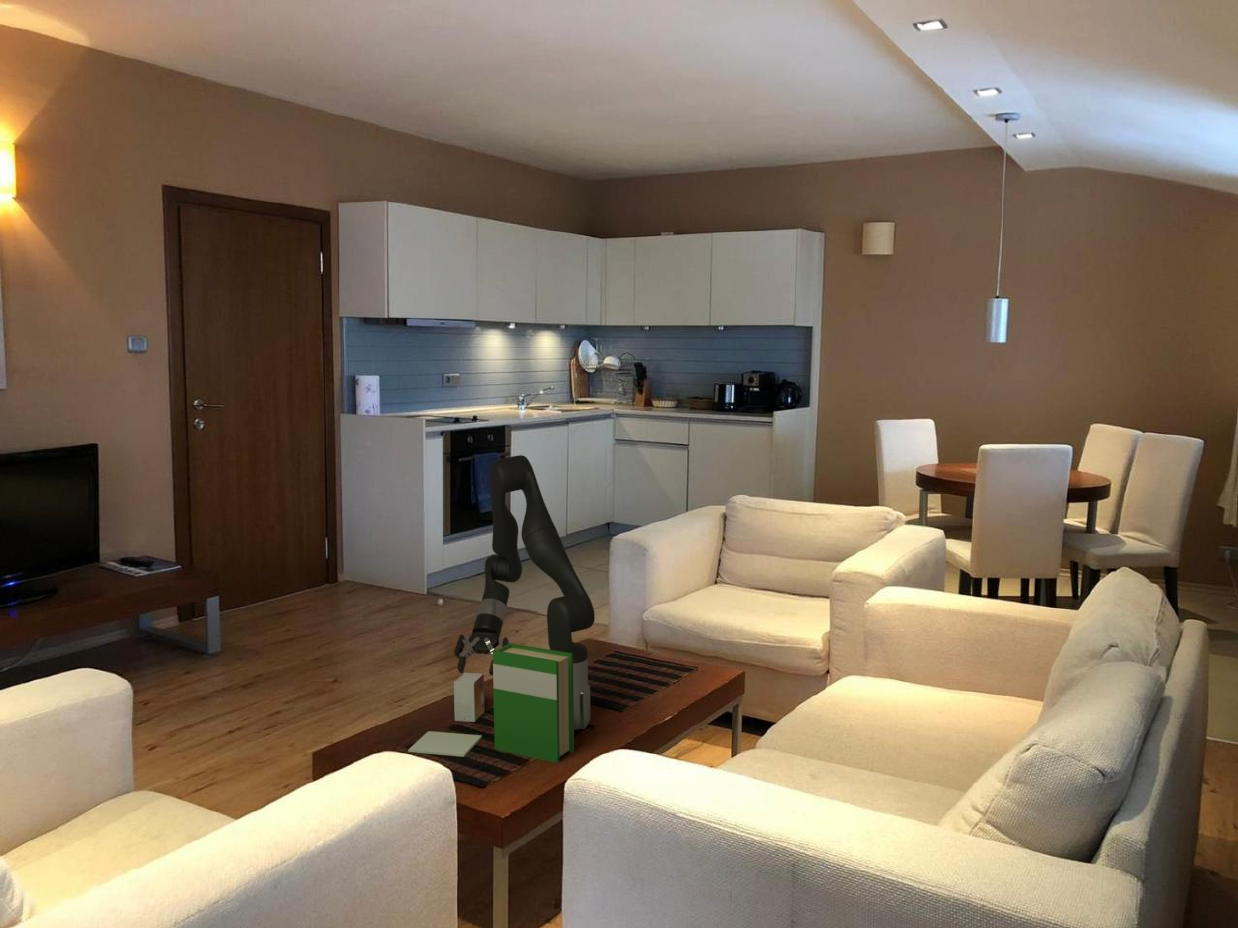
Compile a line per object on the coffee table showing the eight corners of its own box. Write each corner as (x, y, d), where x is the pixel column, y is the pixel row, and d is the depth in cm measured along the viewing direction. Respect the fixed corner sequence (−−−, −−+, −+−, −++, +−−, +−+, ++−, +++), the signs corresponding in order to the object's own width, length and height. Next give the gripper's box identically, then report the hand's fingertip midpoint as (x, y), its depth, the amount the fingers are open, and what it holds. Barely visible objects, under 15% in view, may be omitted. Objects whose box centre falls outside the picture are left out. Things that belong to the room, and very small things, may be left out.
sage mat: (481, 737, 247) (481, 735, 247) (463, 756, 235) (463, 754, 235) (428, 733, 250) (428, 731, 250) (408, 751, 238) (408, 749, 238)
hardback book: (573, 751, 238) (573, 653, 235) (557, 763, 232) (556, 661, 229) (512, 738, 246) (510, 643, 244) (494, 748, 240) (492, 651, 237)
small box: (474, 722, 257) (473, 682, 256) (454, 721, 258) (453, 681, 257) (485, 711, 265) (484, 673, 263) (465, 710, 266) (464, 671, 265)
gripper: (461, 610, 273) (446, 664, 264) (511, 613, 270) (497, 668, 261) (468, 624, 279) (454, 677, 269) (517, 627, 276) (504, 681, 266)
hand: (475, 672), depth 265 cm, fingers open, 8 cm apart
